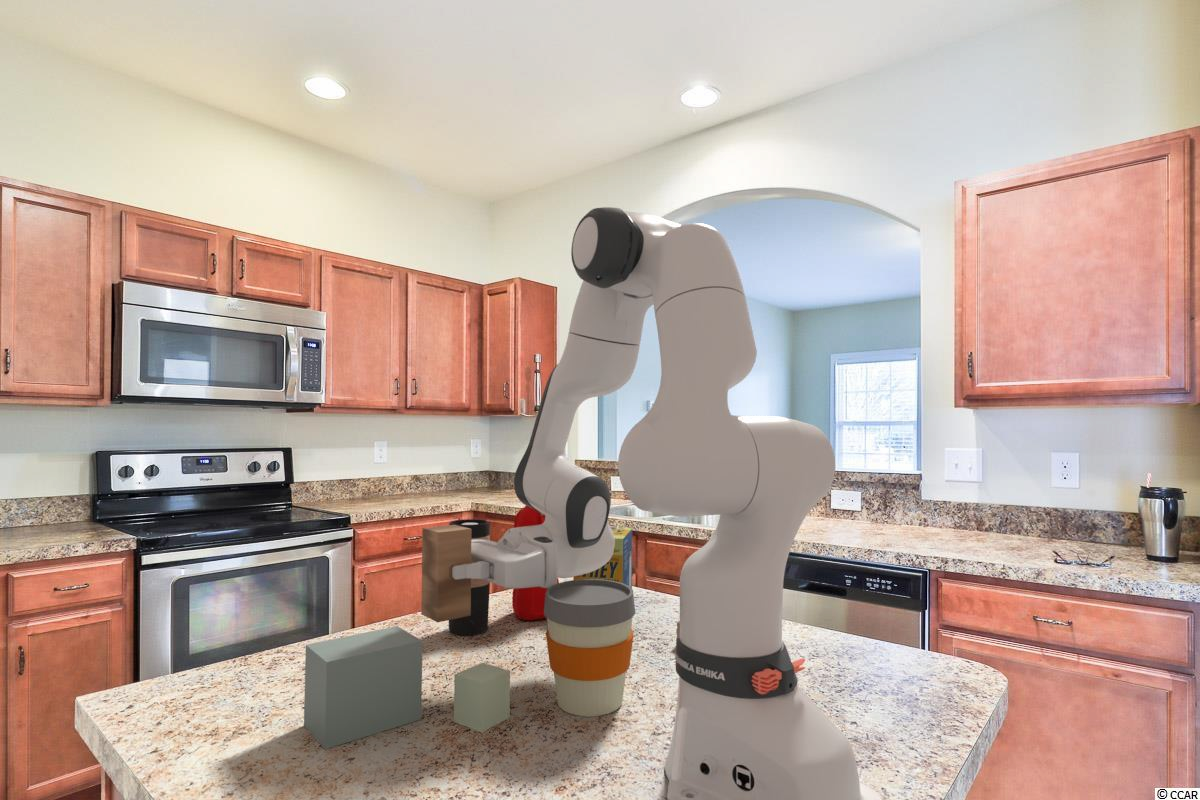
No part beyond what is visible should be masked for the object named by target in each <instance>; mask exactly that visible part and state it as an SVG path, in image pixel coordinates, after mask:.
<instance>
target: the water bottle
mask: <svg viewBox="0 0 1200 800" xmlns="http://www.w3.org/2000/svg"><path fill="white" fill-rule="evenodd" d="M544 521H545V515H544V514H542V513H541V512H539V511H536V510H534V509H532V508H530V507H528V506H526V505H524V507H523V508H521V509H520V510H518V512H517V513H516V514H515V517H514V521H513V522H514V523H513V528H517V527H525V526H534V525H540V524H542V523H544ZM558 583H560V582H559V578H558V577H557V584H558ZM547 589H548V588H542V587H538V586H537V587H528V588H512V596H511V597H512V600H511V601H512V602H511V604H512V605H511V606H512V611H513V613H514V614H515V616H516V617H518V619H520V620H522V621H528V622H529V621H536V620H538V621H539V620H547V618H546V616H545V615H544V606H545V596H546V591H547Z"/></svg>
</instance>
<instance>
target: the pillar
mask: <svg viewBox="0 0 1200 800" xmlns="http://www.w3.org/2000/svg"><path fill="white" fill-rule="evenodd" d="M421 530H422V532H421V534H422V535H421V537H422V538H421V539H422V541H421V547H422V548H421V604H420V606H421V607H420V610H421V611H420V612H421V615H422V616H424V617H426V618H428V619H430V620H432V621H433V622H436V623H440V622H441V623H442V622H446V621H449V620H451V619H456V618H461V617H466V616H470V615H471V578H464V579H457V580H456V579H453V578H451V577H450V576H449V572H450V571H449V567H450V566H451V565H453V564H460V563H461V564H469V563H471V531H472V529H470V528H466V527H462V526H458V525H449V524H448V525H440V526H431V527H430V526H429V527H422V529H421Z"/></svg>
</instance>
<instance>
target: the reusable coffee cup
mask: <svg viewBox="0 0 1200 800" xmlns="http://www.w3.org/2000/svg"><path fill="white" fill-rule="evenodd" d="M544 615H545V616H546V618H547V619H546V622H547V630H546V632H545V637H546V645H547V653H548V660H549V661H548V663H549V667H550V669H551V671H552V672H553V675H554V684H555V691H556V692H555V693H556V701H557V704H558V707H559V708H560V709H561V710H563V711H564V712H566V713H568V714H571V715H574V716H575V715H576V716H578V717H599V716H605V715H608V714H612V713H613V712H615V711H617V710H618V709H619V708H620V707H621V706H622V704H623V699H624V692H625V691H624V690H625V683H626V675H627V674H626V673H627V671H628V669H630V666H631V659H632V650H633V649H632V648H633V642H634V630H633V629H632V624H633V617H634V616H635V615H636V605H635V595H634V590H633V587H632V588H631V587H629V586H628V585H626V584H623V583H620V582H616V581H611V580H602V579H579V580H573V579H572V580H566V581H561V582H559V583H558V584H555V585H553V586H551V587H549V588H548V589H547V591H546V596H545V606H544Z"/></svg>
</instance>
